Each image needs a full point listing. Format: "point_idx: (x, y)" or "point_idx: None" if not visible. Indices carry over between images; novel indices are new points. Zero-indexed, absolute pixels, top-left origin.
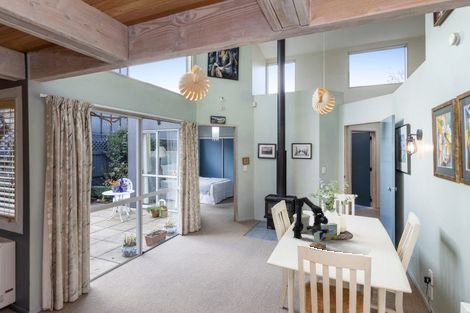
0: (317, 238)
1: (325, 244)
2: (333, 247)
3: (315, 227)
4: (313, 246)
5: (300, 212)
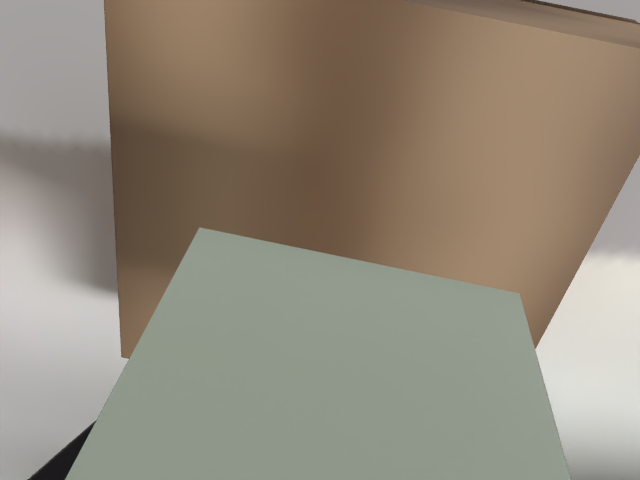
0: (262, 372)
1: (134, 347)
2: (9, 340)
3: None
4: (481, 14)
5: None
